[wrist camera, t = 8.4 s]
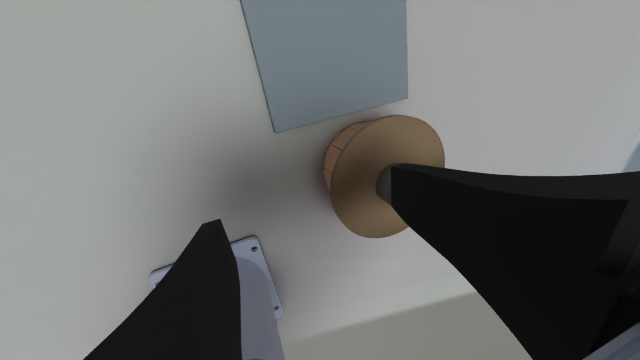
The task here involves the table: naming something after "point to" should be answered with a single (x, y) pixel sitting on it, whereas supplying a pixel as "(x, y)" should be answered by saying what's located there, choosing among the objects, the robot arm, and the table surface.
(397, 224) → the lid
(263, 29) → the mat
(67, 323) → the table surface
